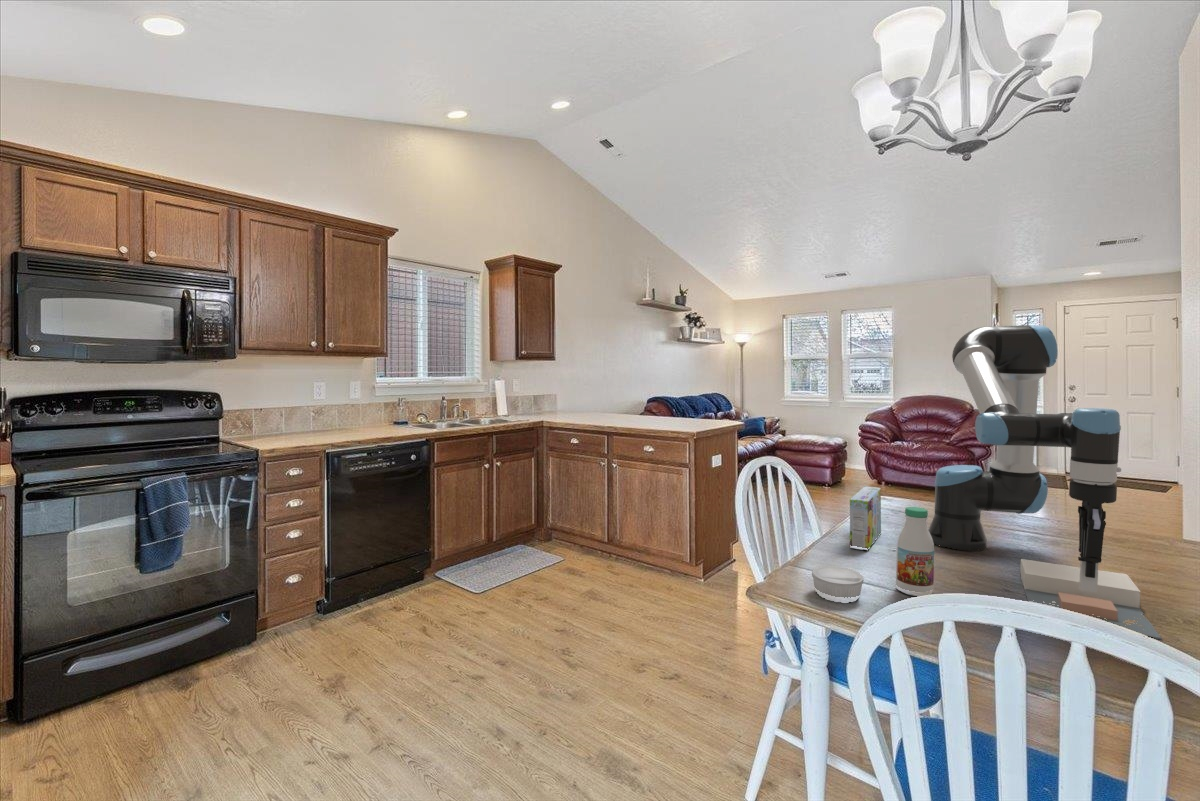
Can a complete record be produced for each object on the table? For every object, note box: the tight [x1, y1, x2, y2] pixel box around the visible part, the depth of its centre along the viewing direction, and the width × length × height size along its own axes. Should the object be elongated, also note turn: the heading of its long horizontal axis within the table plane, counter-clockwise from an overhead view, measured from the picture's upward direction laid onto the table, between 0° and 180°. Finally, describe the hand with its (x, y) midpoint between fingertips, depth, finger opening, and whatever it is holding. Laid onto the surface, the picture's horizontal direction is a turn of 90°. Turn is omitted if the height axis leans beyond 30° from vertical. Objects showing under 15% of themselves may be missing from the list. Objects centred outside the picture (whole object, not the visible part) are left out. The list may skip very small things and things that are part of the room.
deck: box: [1019, 558, 1141, 609], centre depth 132 cm, size 20×12×4 cm, turn 57°
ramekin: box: [811, 565, 865, 598], centre depth 130 cm, size 11×11×5 cm
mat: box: [1024, 589, 1162, 640], centre depth 120 cm, size 20×16×1 cm
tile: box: [1057, 592, 1118, 620], centre depth 120 cm, size 9×6×2 cm, turn 57°
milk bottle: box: [895, 506, 935, 592], centre depth 131 cm, size 8×8×20 cm
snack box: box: [849, 485, 882, 549], centre depth 170 cm, size 21×6×15 cm, turn 144°
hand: (1088, 590), depth 119 cm, fingers closed
